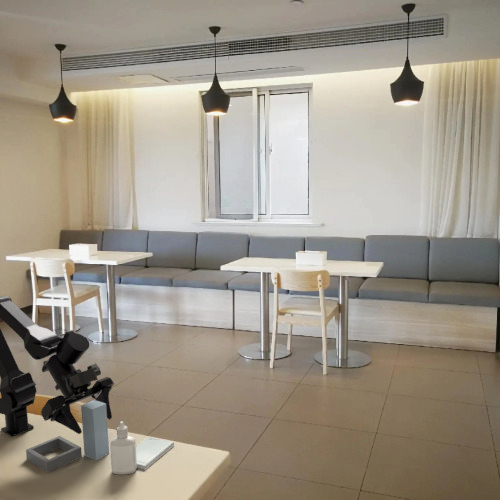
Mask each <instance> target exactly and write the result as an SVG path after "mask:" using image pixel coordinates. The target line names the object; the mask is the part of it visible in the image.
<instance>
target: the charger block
mask: <svg viewBox="0 0 500 500" xmlns="http://www.w3.org/2000/svg"><path fill="white" fill-rule="evenodd" d="M80 408H81V409H80V411H81V425H82V438H83V452H84V454H83V455H84V456H85V457H87V458H89V459H92V460H94V461H97V460H100V459H101V458H103V457H105V456H107V455H108V454H110V445H109V443H110V442H109V441H110V440H109V429H108V418H107V410H106V403H103V402H100V401H96V399H93V400H91V401H88V402H86V403H84V404H83V403H82V404H81V405H80Z"/></svg>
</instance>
